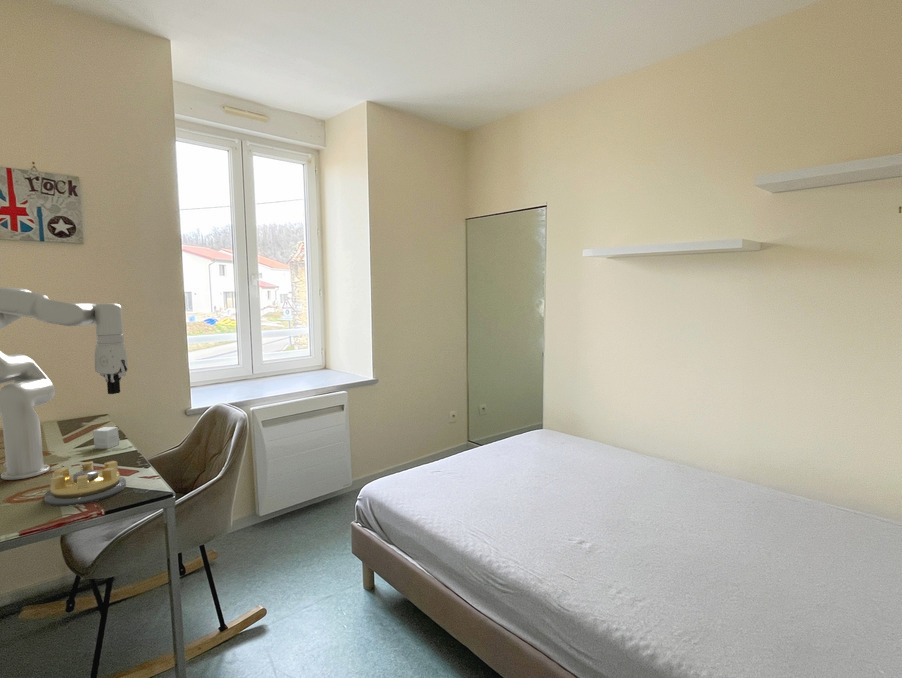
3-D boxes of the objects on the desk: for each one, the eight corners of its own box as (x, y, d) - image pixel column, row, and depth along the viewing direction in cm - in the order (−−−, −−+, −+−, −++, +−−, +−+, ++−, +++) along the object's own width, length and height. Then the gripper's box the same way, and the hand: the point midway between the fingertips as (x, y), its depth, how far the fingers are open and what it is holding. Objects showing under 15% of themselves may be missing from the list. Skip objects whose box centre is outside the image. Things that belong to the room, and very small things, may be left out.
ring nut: (102, 473, 161) (100, 457, 161) (131, 482, 153) (130, 465, 153) (39, 491, 147) (38, 473, 146) (68, 502, 139) (67, 483, 138)
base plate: (28, 501, 144) (27, 495, 144) (96, 477, 163) (96, 472, 163) (75, 510, 138) (75, 504, 137) (141, 484, 156) (140, 479, 156)
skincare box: (119, 444, 200) (118, 426, 200) (107, 448, 194) (106, 430, 194) (106, 444, 201) (104, 426, 200) (93, 448, 195) (92, 430, 194)
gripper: (83, 340, 164) (87, 394, 166) (115, 341, 159) (119, 396, 161) (105, 338, 171) (109, 390, 173) (137, 339, 167) (140, 392, 168)
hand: (114, 393), depth 167 cm, fingers closed
